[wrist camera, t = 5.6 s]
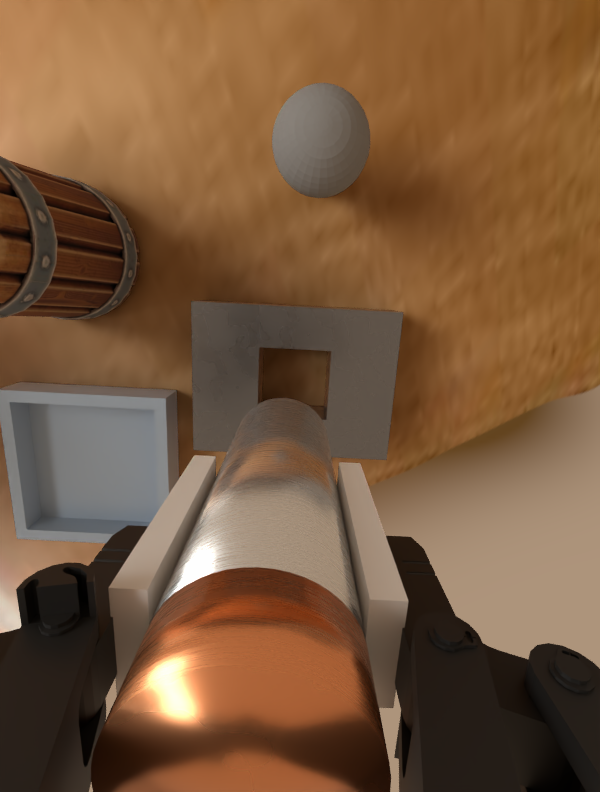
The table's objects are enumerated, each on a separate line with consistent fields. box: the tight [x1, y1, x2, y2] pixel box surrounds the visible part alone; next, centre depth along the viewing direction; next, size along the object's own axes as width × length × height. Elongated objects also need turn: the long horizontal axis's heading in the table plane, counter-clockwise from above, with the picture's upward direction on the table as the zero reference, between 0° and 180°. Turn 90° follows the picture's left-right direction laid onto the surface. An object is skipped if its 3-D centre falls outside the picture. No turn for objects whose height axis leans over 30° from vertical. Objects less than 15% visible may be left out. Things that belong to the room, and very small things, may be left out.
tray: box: [0, 382, 179, 543], centre depth 36 cm, size 14×14×3 cm
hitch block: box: [191, 300, 403, 460], centre depth 34 cm, size 16×12×4 cm
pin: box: [91, 398, 391, 792], centre depth 13 cm, size 4×4×14 cm
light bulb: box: [272, 83, 370, 198], centre depth 27 cm, size 6×6×10 cm
